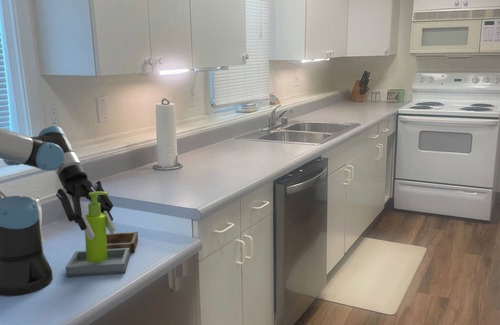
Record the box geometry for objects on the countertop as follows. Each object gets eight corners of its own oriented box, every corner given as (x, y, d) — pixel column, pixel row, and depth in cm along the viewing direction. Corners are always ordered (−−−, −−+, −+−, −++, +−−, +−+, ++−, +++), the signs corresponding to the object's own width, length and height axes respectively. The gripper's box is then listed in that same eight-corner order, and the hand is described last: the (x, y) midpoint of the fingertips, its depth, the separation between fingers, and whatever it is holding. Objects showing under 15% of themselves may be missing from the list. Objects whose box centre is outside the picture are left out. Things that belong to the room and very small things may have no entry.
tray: (66, 277, 138) (65, 267, 137) (76, 260, 150) (75, 251, 149) (124, 273, 140) (124, 263, 139) (129, 257, 151) (129, 247, 151)
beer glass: (24, 240, 168) (19, 197, 165) (46, 237, 170) (41, 195, 167) (21, 247, 162) (16, 203, 159) (44, 244, 164) (39, 201, 161)
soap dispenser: (112, 260, 143) (109, 193, 139) (87, 263, 140) (83, 195, 137) (109, 253, 148) (107, 189, 144) (85, 256, 145) (82, 190, 142)
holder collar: (95, 255, 153) (94, 246, 153) (101, 242, 164) (100, 234, 164) (134, 252, 155) (133, 243, 154) (138, 240, 166) (137, 231, 165)
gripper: (94, 172, 157) (127, 232, 149) (35, 184, 143) (67, 250, 135) (102, 158, 152) (136, 219, 144) (41, 168, 139) (75, 237, 131)
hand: (102, 234), depth 140 cm, fingers closed on soap dispenser, 6 cm apart
